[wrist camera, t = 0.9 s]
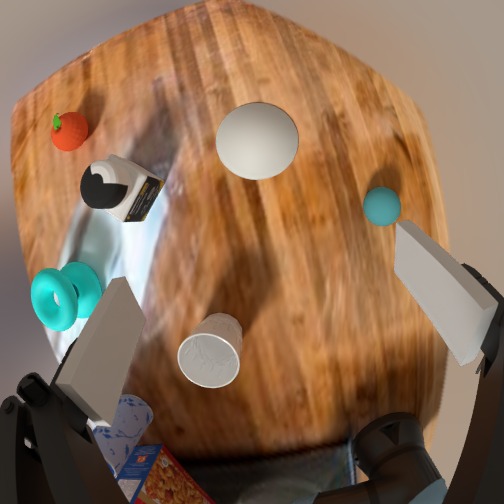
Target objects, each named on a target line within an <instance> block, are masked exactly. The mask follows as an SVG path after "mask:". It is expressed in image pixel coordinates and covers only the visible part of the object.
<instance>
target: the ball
mask: <svg viewBox="0 0 504 504" xmlns="http://www.w3.org/2000/svg"><path fill="white" fill-rule="evenodd" d="M363 209H364V213H365V215H366V217H367V218H368V220H369V221H370V222H372V223H373V224H375V225H378V226H387V225H390V224H392V223H393V222H395V221H396V220H397V218H398V217H399V215H400V211H401V203H400V200H399V197H398V196H397V194H396V193H395V192H394V191H393V190H391V189H389V188H386V187H376V188H374V189H372V190H370V191H369V192H368V194H367V195H366V196H365V199H364V203H363Z"/></svg>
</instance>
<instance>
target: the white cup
mask: <svg viewBox="0 0 504 504" xmlns="http://www.w3.org/2000/svg"><path fill="white" fill-rule="evenodd" d="M242 339H243V334H242V327H241V326H240V324H239V322H238V321H237V320H236V319H235V318H233V317H232V316H231V315H229V314H224V313H215V314H211V315H209V316H208V317H206V318H205V319H204V320H203V321H202V322H201V323H200V324H199V325H198V326H197V327H196V328H195V329H194V330H193V331H192V332H191V333H190V334H189V336H188V337H187V338H186V339H185V340H184V341H183V342H182V344H181V345H180V347H179V350H178V363H179V366H180V369H181V370H182V372H183V373H184V375H185V376H186V377H187V378H188V379H189V380H191V381H192V382H194V383H196V384H198V385H200V386H203V387H208V388H218V387H222V386H225V385H227V384H229V383H230V382H232V381H233V380H234V379H235V377H236V376H237V374H238V372H239V368H240V360H241V353H242Z"/></svg>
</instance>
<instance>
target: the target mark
mask: <svg viewBox="0 0 504 504" xmlns="http://www.w3.org/2000/svg"><path fill="white" fill-rule="evenodd" d="M216 148H217V152H218V155H219V157H220V159H221V161H222V162H223V164H224V165H225V166H226V167H227V168H228V169H229V170H230V171H231V172H233V173H234V174H236V175H238V176H240V177H243V178H247V179H252V180H260V179H267V178H270V177H273V176H275V175H277V174H279V173H281V172H282V171H284V170H285V169H286V168H287V167H288V166H289V165H290V164H291V162H292V161H293V159H294V157H295V155H296V152H297V149H298V133H297V129H296V127H295V125H294V123H293V121H292V120H291V118H290V117H289V116H288V115H287V114H286V113H285V112H283V111H282V110H281V109H279V108H277V107H275V106H272V105H269V104H265V103H250V104H246V105H243V106H240V107H238V108H236V109H234V110H233V111H231V112H230V113H229V114H228V115H227V116H226V117H225V118H224V119H223V121H222V122H221V124H220V126H219V128H218V131H217V135H216Z"/></svg>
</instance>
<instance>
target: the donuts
mask: <svg viewBox="0 0 504 504" xmlns="http://www.w3.org/2000/svg"><path fill="white" fill-rule="evenodd" d="M72 284H74V285H75V286H76V287H77V289H78V292H79V298H77V294H76V291H75V289H74V287H73V285H72ZM54 292H55V293H56V294H57V296H58V299H59V303H60V306H58V305H57V304H56V302H55V300H54ZM101 297H102V292H101V286H100V283H99V280H98V278H97V276H96V274H95V273H94V272H93V270H92V269H91V268H90V267H88V266H87V265H85V264H83V263H81V262H71V263H68V264H66V265H65V266H64V267H63V268H62V269H61V271H59V270H57V269H54V268H46V269H43V270H41V271H40V272H39V273H38V274H37V275H36V276H35V278H34V280H33V283H32V287H31V299H32V304H33V307H34V310H35V311H36V314H37V316H38V317H39V319H40V320H41V321H42V322H43V324H44V325H46V326H47V327H48V328H50V329H52V330H55V331H65V330H67V329H69V328H70V327H71V326H72V325H73V324H74V322H75V320H76V318H88V317H90V315H91V314H92V312H93V310H94V308H95V307H96V305H97V303H98V302H99V300H100V298H101Z"/></svg>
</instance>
